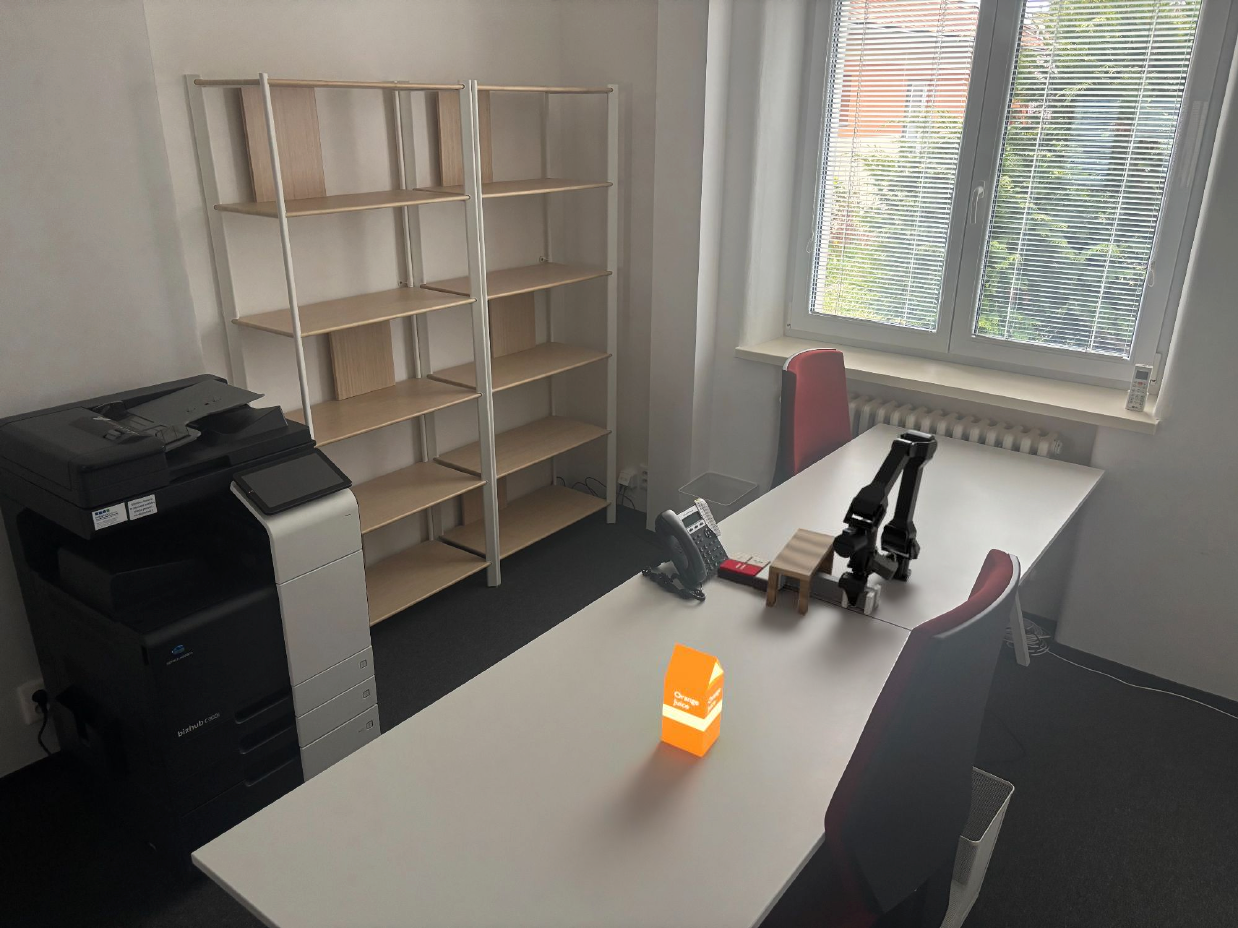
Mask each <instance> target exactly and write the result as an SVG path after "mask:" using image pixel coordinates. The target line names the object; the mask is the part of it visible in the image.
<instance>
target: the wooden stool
mask: <svg viewBox="0 0 1238 928" xmlns="http://www.w3.org/2000/svg"><path fill="white" fill-rule="evenodd" d="M835 538H836V536H834V535H830V534H826V533H821V532H817V531H814V530H813V531H812V530H809V529H804V528H800V527H799V528H798V529H797V530H796V532H795V533H794V535H792V537H791V538H790V539H789V540H788V542H787V543H786V544H785V545H784V547H782V549H781V550H780V552H779V553H778V554H777V555H776V556H775V558H774V559H773V561H771V562H772V563H771V564H770V565H769V575H768V586H767V593H766V597H765V598H766V599H765V600H766V601H765V606H767V607H768V606H769V607H771V608H773V607H775V606H776V604H777V597H778V590H779V589H778V579H779V574H783V575H787V576H791V577H795V578H799V579H801V581H800V588H799V590H798V591H799V592H798V601H797V602H798V603H797V608H796V609H797V611H796V614H798V615H802V616H806V615H807V613H808V612H809V611H808V609H809V603H810V602H809V601H810V593H811V592H810V585H811V577H812V576H813V574H814V573H815V572H816V571H818V572H822V573H825V574H828V575H832V574H833V567H834V560H835V559H834V558H835V553H836V552H835V551H834V548H833V541H834V539H835Z"/></svg>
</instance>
